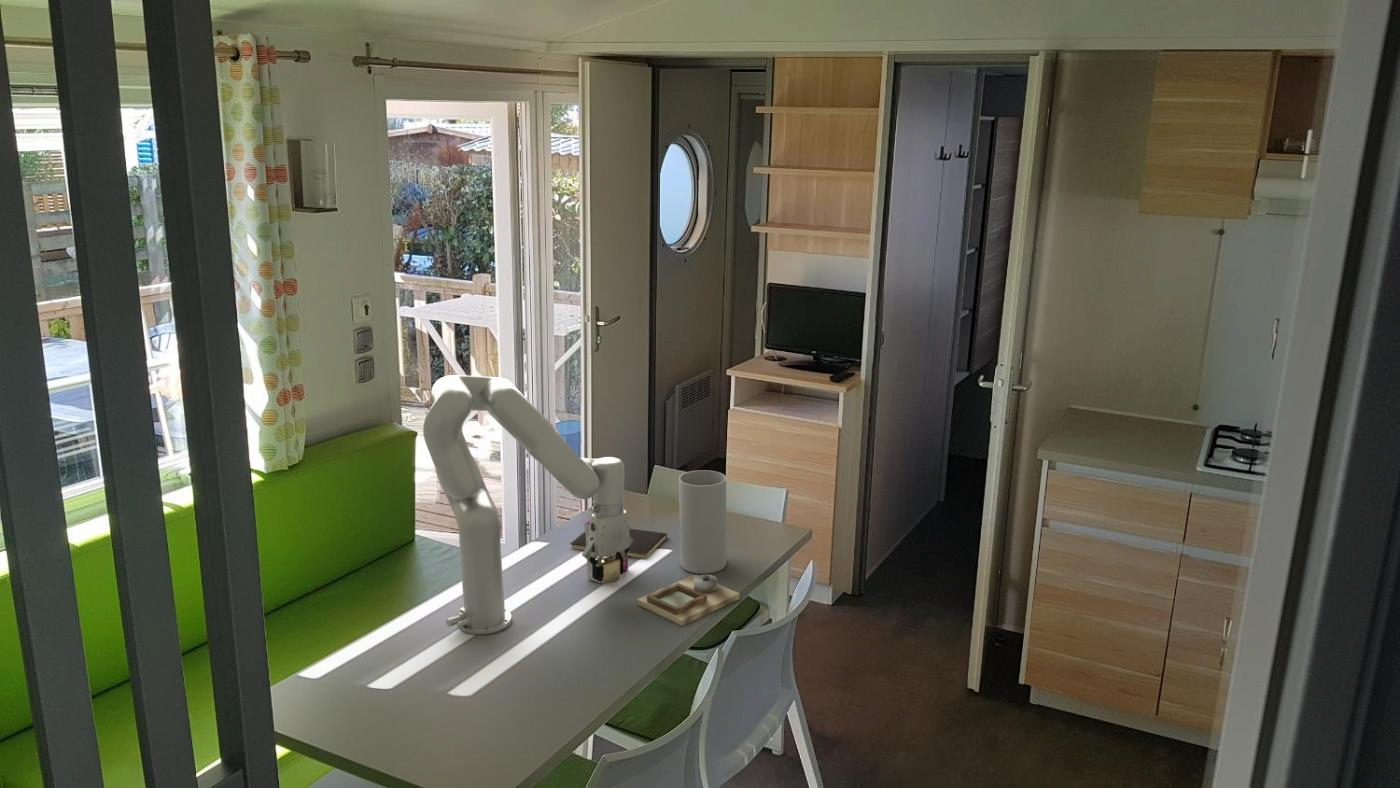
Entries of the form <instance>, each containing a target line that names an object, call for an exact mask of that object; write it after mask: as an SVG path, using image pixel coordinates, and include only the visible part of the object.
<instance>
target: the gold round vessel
mask: <svg viewBox="0 0 1400 788" xmlns="http://www.w3.org/2000/svg"><path fill="white" fill-rule="evenodd" d="M596 560H597V559H596ZM601 566H602V567H603V580H602V581H598V580H597V581H598V582H600V583H601V584H607V585H608V584H614V583H617V582H619V581H620V580H621V574H620V558H619V557H617V556H613V555H608V556H604V557H603V559H602V562H601ZM600 583H599V584H600Z"/></svg>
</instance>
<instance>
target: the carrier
mask: <svg viewBox="0 0 1400 788" xmlns="http://www.w3.org/2000/svg"><path fill="white" fill-rule="evenodd" d="M718 583H719V582H718V577H716V575H715V576H714V575H712V574H699V575H697V574H693V575H690V576H688V577H686V578H684V579H681V580H679V581H677V582H674V583H672V584H669V585H667V586H665V587H662V588H660V589H658V590H656V591H654V592H651V593H649V594H646V595H644V596H641V597H640V598H637V606H640V607H641V608H643V609H646V610H648V611H650V612H652V613H654V614H656V615H659V616H660V617H662V618H664V619H667V620H668V621H671V622H673V623H675V624H677V625H679V626H685V625H686V624H688V623H691V622H693V621H696V620H698V619H700V618H701V617H705V616H706V615H708V614H710V613H713V612H715V611H717V610H719V609H720V608H724V607H725V606H727V605H730V604H731V603H735V602H736V601H738V600H740V592H737V591H735V590H732V589H730V588H728V587H725V586H723V585H720V584H718Z"/></svg>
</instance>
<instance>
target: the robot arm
mask: <svg viewBox="0 0 1400 788" xmlns="http://www.w3.org/2000/svg"><path fill="white" fill-rule="evenodd" d="M431 399H432V402H433V404H432V405H431V407H430V408H429V409H428V412H427V414H426V416H425V418H424V423H423V429H422V431H423V433H422V434H423V438H424V442H425V446H426V447H427V450H428V453H429V454H430V459H431V461H432V463H433V465H434V468H435V473H436V476H437V479H438V482H439V483H440V486H441V488H442V490H443V492H444V494H445V497H446V499H447V501H448V504H449V506H450V507H451V510H452V513H453V515H454V518H455V521H456V523H457V527H458V528H457V529H458V537H459V538H458V540H459V543H458V544H459V560H460V561H459V563H460V571H461V584H462V595H463V596H462V598H463V599H462V600H463V607H460V608H459V613H457V614H456V616H451V617H449V618H447V619H446V620H445V623H446V626H447V627H448V628H450V627H452V626H455V625H457V628H458V629H460V630H461V631H463V632H464V633H467V634H470V635H471V634H472V635H490V634H494V633H498V632H500V631H503V630H504V629H506V628H507V627H509V626H510V625H511V623H512V621H513V615H512V613H511V611H509V610H508V609H506V608H505V594H504V579H503V564H502V563H503V562H502V561H503V560H502V545H501V542H502V541H501V536H502V535H501V533H502V532H501V531H502V524H501V523H502V522H501V517H500V514H499V513H500V512H499V511H498V508H497V506H496V504H495V503H494V501H493V499H492V497H491V495H490V493H489V491H488V488H487V485H486V483H485V481H484V478H483V476H482V473H481V470H480V467H479V465H478V463H477V461H476V459H475V457H474V456H473V454H472V453H471V450H470V448H469V446H468V443H467V440H466V438H465V435H464V433H463V426H464V423H465V421H466V420H467V418H468V417H469V416H470V414H471V413H472V411H474V412H475V411H476V412H477V411H479V412H480V411H481V412H488V413H489V414H490V416H491V417H492V418H493V419H494V420H495V421H496V422H497V423H498V424H499V425H500V426H501V427H503V428H504V430H505V431H507V432H508V434H509V435H510V436H511V437H512V438H513V439H515V440H516V441H517V443H518V444H520V446H522V448H524V450H526V452H528V453H529V455H530V456H531V457H532V458H533V459H534V460H536V461H537V462H538V463H539V464H540V465H542V466H543V468H544V469H546V470H547V471H548V472H549V474H551V476H552V477H554V478H555V480H556V481H557V482H558V483H559V484H560V485H562V487H564V488H565V489H566V491H567V492H569V493H570V494H571V495H572V496H573V497H575V498H576V499H579V500H588V499H591V498H592V500H593V501H592V507H590V511H589V512H590V513H591V515H590V519H589V520H590V525H589V534H588V546H587V547H586V549H585V550H583V552H581V553H582V554H581V556H582V557H583V558H584V559H585V560H586V561H587V560H588V561H589V562H590V563H591V564H592V577H593V578H594V579H596V580H598V581H602V580H603V567H602V566H601V562H602V559H603V557H604V556H608V555H611V554H614V553H615V556H617V557H619V558H620V575H624V572H623V559H624V558H625V557H626V553H627V551H628V550H629V547H630V546H631V544H632V543H633V539H632V538H631V537H630V535H629V528H630V524H629V518H628V517H629V516H628V513H627V511H626V509H624V506H625V505H624V504H625V463H624V461H623V460H622V459H621V458H617V457H615V456H603V457H599V458H588V457H580V456H579V455H578V454H577V453H576V452H575V450H574V449H573V448H572V447H571V446H570V444H568V442H566V440H565V439H564V437H563V436H562V435H561V434H560V432H559V430H558V429H557V428H556V427H555V426H554V425H553V424H552V423H551V421H549V420H548V418H546V416H544V414H543V413H541V411H539V410H538V409H537V408H536V406H535V405H534V404H532V403H531V401H529V400H528V399H527V397H526V396H524V394H523V393H522V392H521V391H520V390H519V389H518V388H517V387H516V385H514V383H513V382H511V380H509V379H507V378H504V377H498V376H483V375H482V376H481V375H479V376H478V375H465V374H462V375H461V374H450V375H449V374H448V375H445V376H443V377H439V379H438V380H436V381H435V383H434V384H433V385H432V388H431ZM591 552H593V553H592V556H591ZM597 556H598V558H597V560H596V557H597Z"/></svg>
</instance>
